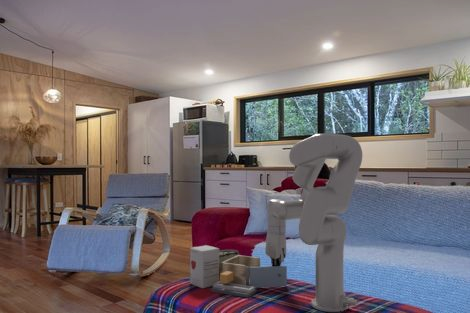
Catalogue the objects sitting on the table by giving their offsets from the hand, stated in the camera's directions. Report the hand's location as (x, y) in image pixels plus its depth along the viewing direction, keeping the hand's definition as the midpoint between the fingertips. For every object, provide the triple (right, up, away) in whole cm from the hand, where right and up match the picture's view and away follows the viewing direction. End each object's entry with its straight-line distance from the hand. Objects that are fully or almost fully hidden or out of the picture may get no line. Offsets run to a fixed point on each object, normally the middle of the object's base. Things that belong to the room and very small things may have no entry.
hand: (276, 273), depth 161 cm
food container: (-22, -5, +18) cm, 29 cm away
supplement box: (-30, -5, +1) cm, 30 cm away
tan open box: (-14, -5, +5) cm, 16 cm away
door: (-4, -4, -4) cm, 7 cm away
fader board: (-17, -4, -9) cm, 20 cm away
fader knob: (-20, -3, -8) cm, 22 cm away
